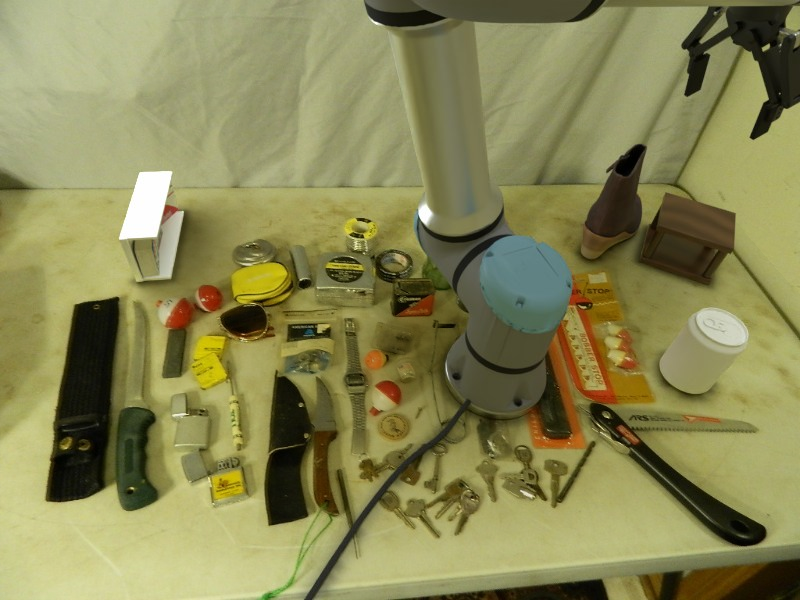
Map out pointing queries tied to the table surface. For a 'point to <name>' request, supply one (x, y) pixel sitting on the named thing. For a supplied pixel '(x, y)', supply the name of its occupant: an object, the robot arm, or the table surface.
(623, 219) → the boot
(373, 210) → the table surface
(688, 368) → the beverage can
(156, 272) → the cigarette display
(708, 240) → the rack
